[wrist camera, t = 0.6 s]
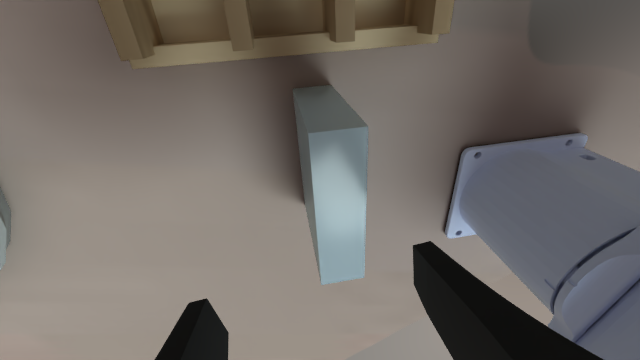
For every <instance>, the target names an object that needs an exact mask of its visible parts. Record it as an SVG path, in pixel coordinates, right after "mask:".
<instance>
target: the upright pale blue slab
mask: <svg viewBox="0 0 640 360" xmlns="http://www.w3.org/2000/svg"><path fill="white" fill-rule="evenodd" d="M293 98H294V107H295V116H296V126H297V135H298V144H299V154H300V163H301V172H302V182H303V191H304V200H305V207H306V212H307V217H308V222H309V227H310V232H311V237H312V242H313V247H314V252H315V256H316V261H317V266H318V271H319V276H320V281H321V285H324V284H330V283H335V282H341V281H347V280H352V279H358V278H364V268H365V232H366V196H367V159H368V125H367V124H366V123H365V122H364V121H363V120H362V119H361V118H360V116H359V115H358V114H357V113H356V112H355V111H354V110H353V109H352V108H351V106H350V105H349V104H348V103H347V102H346V101H345V100H344V99H343V98H342V97H341V95H340V94H339V93H338V92H337V91H336V90H335V89H334V88H333V87H332V85H325V86H315V87H305V88H295V89H293Z"/></svg>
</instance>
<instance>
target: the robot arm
mask: <svg viewBox="0 0 640 360" xmlns="http://www.w3.org/2000/svg"><path fill="white" fill-rule="evenodd" d="M587 139H588V137H587V135H585V134H583V133H576V134H568V135H561V136H553V137H545V138H538V139H530V140H522V141H515V142H507V143H500V144H492V145H484V146H477V147H469V148H467V149H465V150H464V151H463V152H462V155H461V159H460V164H459V168H458V173H457V178H456V182H455V187H454V192H453V197H452V201H451V206H450V211H449V215H448V220H447V225H446V229H445V235H446V236H447V237H448V238H457V237H463V236H469V235H475V234H477V235H478V236H479V237H480V238H481V239H482V240H483V241H484V242H485V243H486V244H487V245H488V246H489V247H490V249H491V250H492V251H493V252H494V253H495V254H496V255H497V256H498V257H499V258H500V259H501V260H502V261H503V262H504V263H505V264H506V265H507V266H508V267H509V268H510V270H511V271H512V272H513V273H514V274H515V275H516V276H517V277H518V278H519V279H520V280H521V281H522V282H523V283H524V284H525V285H526V286H527V287H528V288H529V289H530V291H531V292H533V294H534V295H535V296H536V297H537V298H538V299H539V300H540V301H541V302H542V303H543V304H544V305H545V306H546V307H547V308H548V309H549V310H550V311H551V312H552V314H553V315H554V316H553V318H552V320H551V322H550V323H549V324H548V327H547V326H546V325H544V324H543V323H541V322H539V321H538V320H536V319H535V318H533V317H532V316H530V315H528V314H527V313H525V312H524V311H523V310H521V309H520V308H518V307H516V306H515V305H514V304H512V303H511V302H509V301H508V300H506V299H505V298H504V297H502V296H501V295H499V294H498V293H496V292H495V291H494V290H492V289H491V288H490V287H488V286H487V285H486V284H484V283H483V282H482V281H480V280H479V279H477V278H476V277H475V276H473V275H472V274H471V273H470V272H468V271H467V270H466V269H464V268H463V267H462V266H461V265H459V264H458V263H457V262H456V261H454V260H453V259H452V258H451V257H449V256H448V255H447V254H446V253H445V252H443V251H442V250H441V249H440V248H438V247H437V246H436V245H435V244H434V243H432V242H431V241H429V242H425V243H421V244H417V245H413V266H414V286H415V288H416V290H417V292H418V295H419V297H420V299H421V302H422V304H423V306H424V308H425V310H426V312H427V314H428V316H429V318H430V320H431V321H432V323H433V325H434V326H435V328H436V330H437V332H438V333H439V335H440V337H441V339H442V340H443V342H444V344H445V346H446V347H447V349H448V351H449V352H450V354H451V356H452V357H453V359H454V360H640V172H639V171H637V170H634V169H632V168H629V167H627V166H625V165H622V164H620V163H618V162H615V161H613V160H611V159H608V158H606V157H604V156H601V155H599V154H597V153H594V152H592V151H590V150H587V149H585V148H584V146H585V144H586V142H587ZM477 152H478V153H477ZM476 153H477V155H476V156H474V155H475V154H476ZM155 360H228V331H227V330H226V328H225V326H224V325H223V323H222V322H221V320H220V319H219V317H218V315H217V314H216V312H215V311H214V309H213V307H212V306H211V304H210V303H209V301H208V299H207V298H206V299H203V300H199V301H195V302H191V303H189V304H188V305H187V307H186V309H185V310H184V312H183V313H182V315H181V317H180V318H179V320H178V322H177V323H176V325H175V327H174V329H173V330H172V332H171V334H170V335H169V337H168V339H167V340H166V342H165V344H164V345H163V347H162V349H161V350H160V352H159V354H158V355H157V357H156V358H155Z"/></svg>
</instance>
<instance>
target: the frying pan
mask: <svg viewBox="0 0 640 360" xmlns="http://www.w3.org/2000/svg"><path fill="white" fill-rule="evenodd" d="M10 232H11V210H10V208H9V205H8V203H7V201H6V199H5V196H4V194H3V192H2V190H1V188H0V270H1V268H2V267H3V265H4V264H5V262H6V248H7V246H8V244H9V242H10Z"/></svg>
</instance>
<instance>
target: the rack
mask: <svg viewBox="0 0 640 360" xmlns="http://www.w3.org/2000/svg"><path fill="white" fill-rule="evenodd" d="M98 3H99V5H100V8H101V10H102V13H103V15H104V18H105V21H106V23H107V26H108V28H109V31H110V33H111V36H112V39H113V41H114V44H115V46H116V49H117V51H118V54H119V57H120V59H121V61H126V60H129V61H130V64H131V66H132V69H141V68H152V67H164V66H175V65H187V64H198V63H210V62H221V61H233V60H244V59H256V58H267V57H279V56H290V55H302V54H313V53H324V52H336V51H347V50H359V49H370V48H382V47H393V46H405V45H416V44H428V43H438V36H439V34H448V33H449V32H450V26H451V19H452V13H453V6H454V0H98Z"/></svg>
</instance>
